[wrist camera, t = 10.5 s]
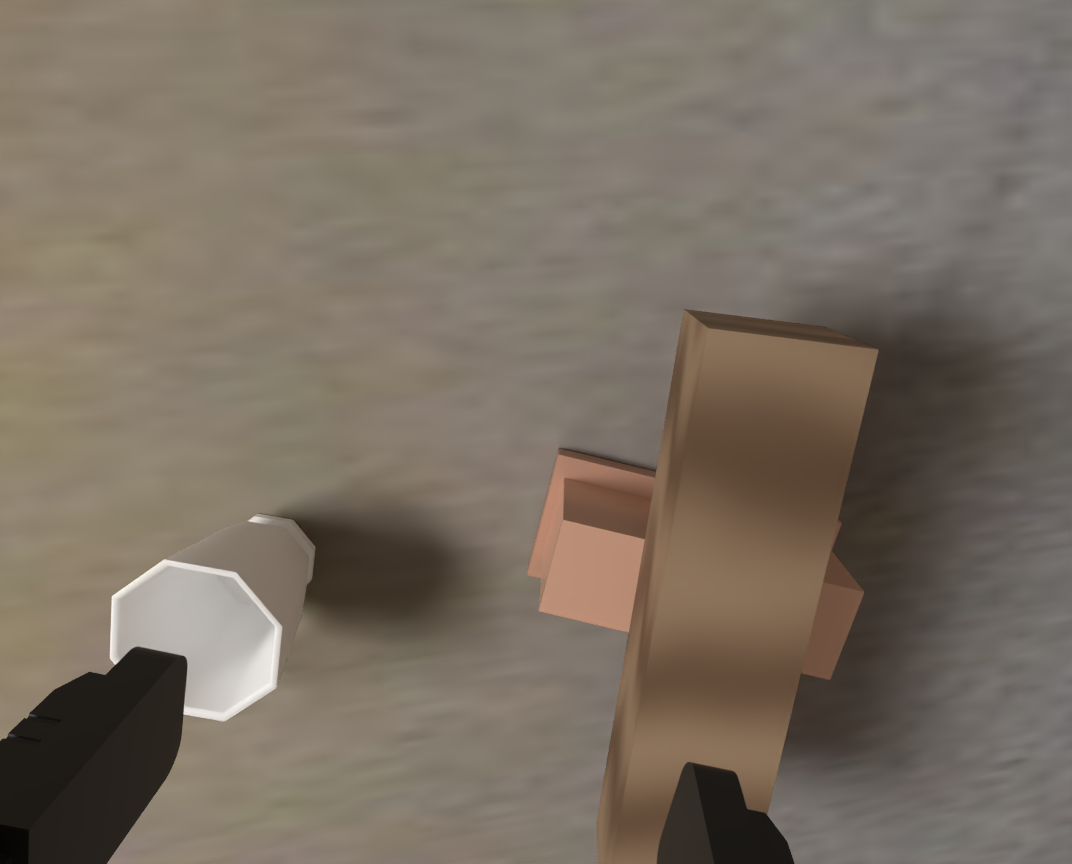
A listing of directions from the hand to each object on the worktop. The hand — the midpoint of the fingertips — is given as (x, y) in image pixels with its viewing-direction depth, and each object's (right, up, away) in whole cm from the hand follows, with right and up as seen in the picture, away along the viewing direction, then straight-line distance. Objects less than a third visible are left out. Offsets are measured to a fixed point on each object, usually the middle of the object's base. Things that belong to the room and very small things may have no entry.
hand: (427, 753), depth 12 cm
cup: (-12, -2, +26) cm, 28 cm away
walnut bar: (+8, -1, +18) cm, 20 cm away
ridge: (+8, 0, +24) cm, 25 cm away
